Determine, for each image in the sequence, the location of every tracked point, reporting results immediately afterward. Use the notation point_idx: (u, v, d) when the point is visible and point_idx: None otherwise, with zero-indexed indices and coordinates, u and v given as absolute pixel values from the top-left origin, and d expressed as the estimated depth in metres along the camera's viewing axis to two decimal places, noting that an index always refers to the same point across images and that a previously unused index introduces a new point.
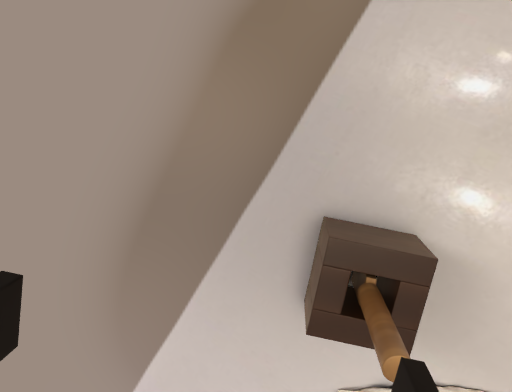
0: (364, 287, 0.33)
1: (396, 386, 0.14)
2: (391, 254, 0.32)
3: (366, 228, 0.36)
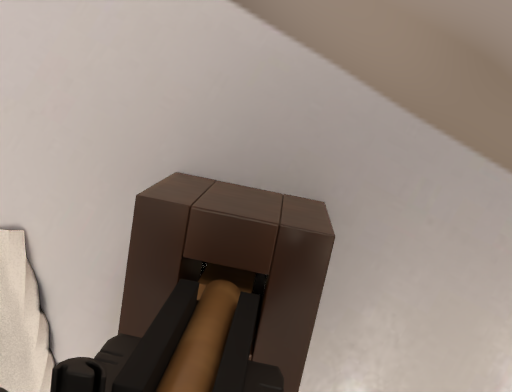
0: (236, 296, 0.18)
1: None
2: (301, 340, 0.18)
3: None
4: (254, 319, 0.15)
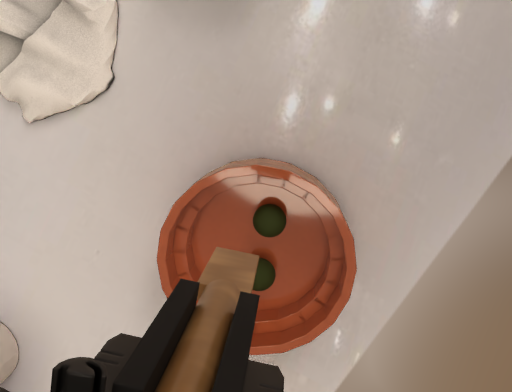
0: (236, 296, 0.18)
1: None
2: None
3: None
4: (254, 319, 0.15)
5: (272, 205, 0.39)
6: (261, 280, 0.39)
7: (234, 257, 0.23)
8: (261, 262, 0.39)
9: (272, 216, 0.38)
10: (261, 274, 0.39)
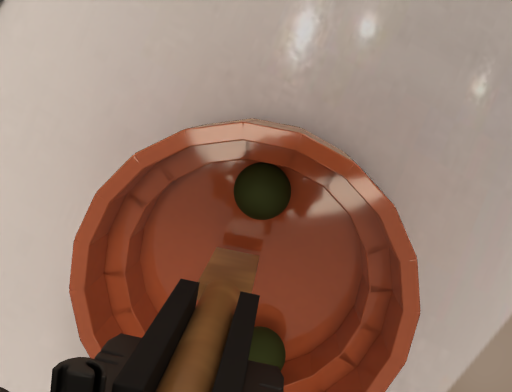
0: (236, 296, 0.18)
1: None
2: None
3: None
4: (254, 319, 0.15)
5: None
6: None
7: (234, 257, 0.23)
8: None
9: (267, 163, 0.23)
10: None
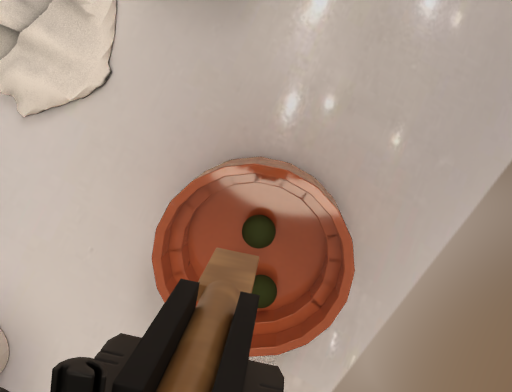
0: (236, 297, 0.18)
1: None
2: None
3: None
4: (254, 319, 0.15)
5: (261, 226, 0.37)
6: (266, 306, 0.40)
7: (234, 258, 0.23)
8: (266, 294, 0.39)
9: (256, 240, 0.37)
10: (267, 305, 0.39)
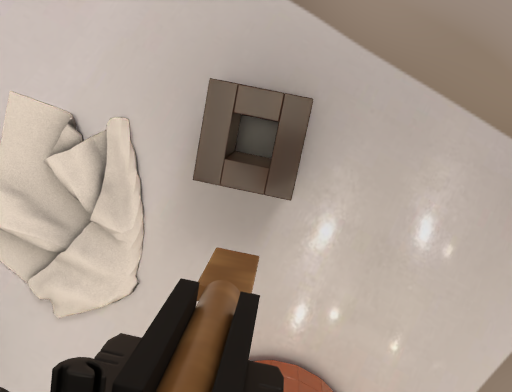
0: (236, 297, 0.18)
1: None
2: (295, 158, 0.34)
3: None
4: (254, 319, 0.15)
5: None
6: None
7: (234, 258, 0.23)
8: None
9: None
10: None
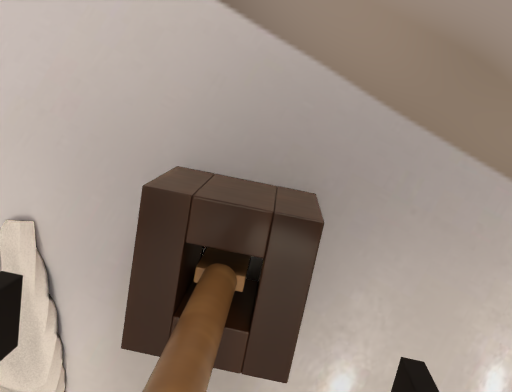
0: (232, 278, 0.20)
1: (396, 386, 0.14)
2: (294, 318, 0.20)
3: None
4: None
5: None
6: None
7: None
8: None
9: None
10: None
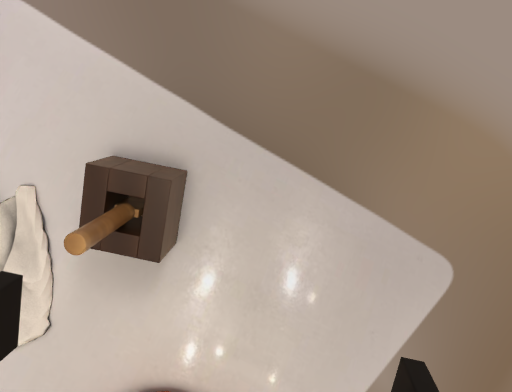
0: (130, 209, 0.40)
1: (396, 386, 0.14)
2: (160, 228, 0.40)
3: (179, 206, 0.45)
4: None
5: None
6: None
7: (140, 198, 0.45)
8: None
9: None
10: None
